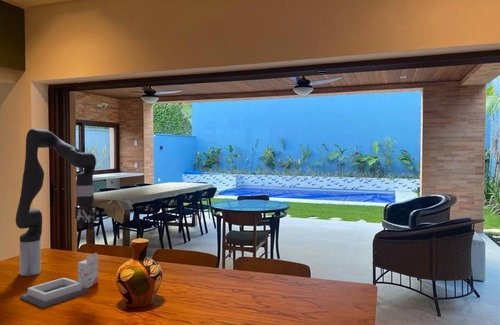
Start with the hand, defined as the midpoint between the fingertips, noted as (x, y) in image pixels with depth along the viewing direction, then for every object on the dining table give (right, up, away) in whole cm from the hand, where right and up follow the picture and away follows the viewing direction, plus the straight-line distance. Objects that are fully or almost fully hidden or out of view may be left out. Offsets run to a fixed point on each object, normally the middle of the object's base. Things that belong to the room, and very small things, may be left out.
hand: (85, 229), depth 177 cm
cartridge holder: (-8, -27, -13) cm, 31 cm away
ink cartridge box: (+1, -27, 0) cm, 27 cm away
